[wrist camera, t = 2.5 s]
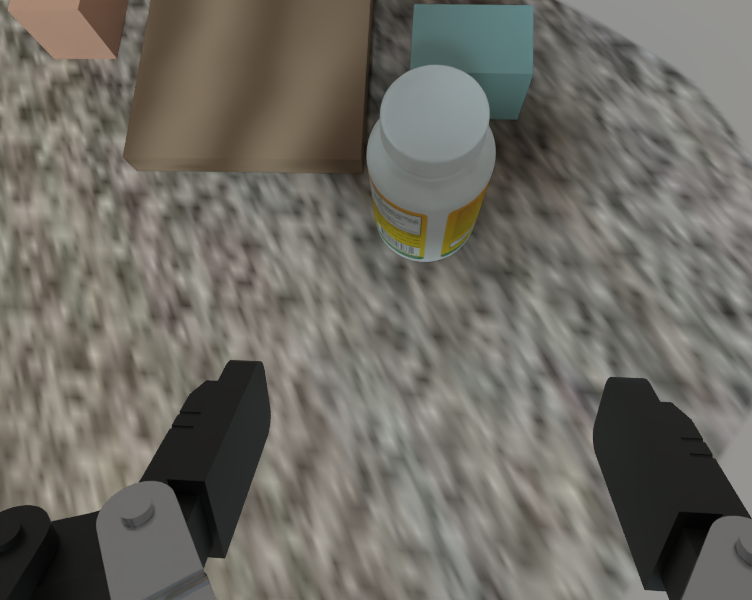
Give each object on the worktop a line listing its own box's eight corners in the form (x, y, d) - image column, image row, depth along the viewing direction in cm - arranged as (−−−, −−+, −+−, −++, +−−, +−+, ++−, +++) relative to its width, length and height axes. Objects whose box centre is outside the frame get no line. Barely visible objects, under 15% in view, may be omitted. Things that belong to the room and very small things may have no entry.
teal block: (409, 118, 30) (409, 71, 26) (413, 57, 31) (414, 3, 27) (516, 121, 29) (533, 74, 26) (517, 59, 30) (533, 5, 26)
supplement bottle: (379, 269, 28) (364, 186, 18) (371, 176, 29) (353, 56, 20) (482, 259, 27) (519, 170, 18) (469, 166, 29) (497, 39, 19)
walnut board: (136, 170, 30) (122, 157, 29) (168, -18, 33) (157, -38, 32) (363, 173, 29) (360, 159, 28) (374, -21, 32) (372, -42, 31)
